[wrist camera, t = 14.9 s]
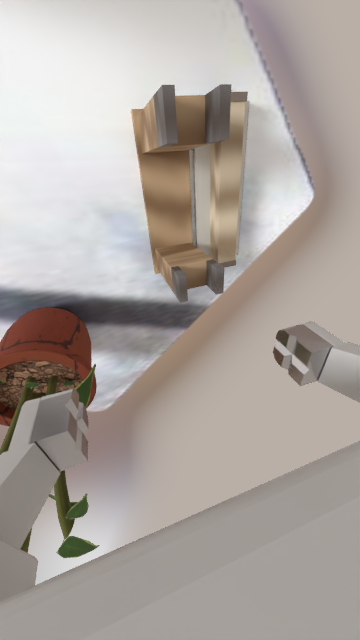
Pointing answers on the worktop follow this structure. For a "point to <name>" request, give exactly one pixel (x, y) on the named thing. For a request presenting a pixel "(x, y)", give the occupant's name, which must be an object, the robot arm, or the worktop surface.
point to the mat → (204, 191)
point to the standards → (178, 180)
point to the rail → (226, 185)
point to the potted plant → (47, 390)
